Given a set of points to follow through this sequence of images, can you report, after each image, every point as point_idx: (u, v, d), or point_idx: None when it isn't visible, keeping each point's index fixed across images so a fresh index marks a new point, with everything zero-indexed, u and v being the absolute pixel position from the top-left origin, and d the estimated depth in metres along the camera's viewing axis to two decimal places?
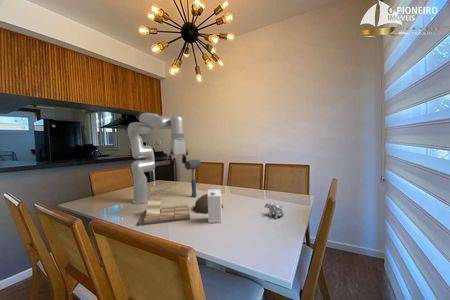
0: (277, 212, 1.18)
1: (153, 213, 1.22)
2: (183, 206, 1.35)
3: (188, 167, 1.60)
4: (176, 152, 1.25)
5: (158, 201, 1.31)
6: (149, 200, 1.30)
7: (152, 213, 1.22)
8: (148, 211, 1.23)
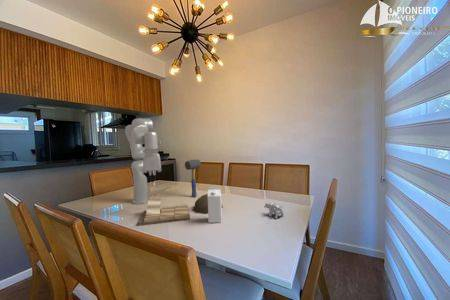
0: (277, 212, 1.18)
1: (153, 213, 1.22)
2: (183, 206, 1.35)
3: (188, 167, 1.60)
4: None
5: (158, 201, 1.31)
6: (149, 200, 1.30)
7: (152, 213, 1.22)
8: (148, 211, 1.23)
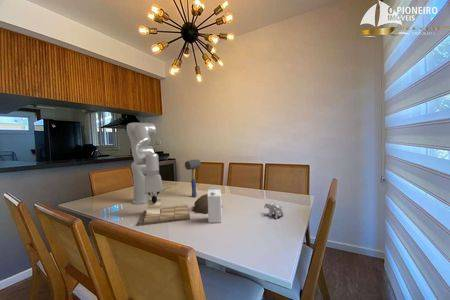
0: (277, 212, 1.18)
1: (153, 213, 1.22)
2: (183, 206, 1.35)
3: (188, 167, 1.60)
4: None
5: (158, 201, 1.31)
6: (149, 201, 1.31)
7: (152, 213, 1.22)
8: (148, 211, 1.23)
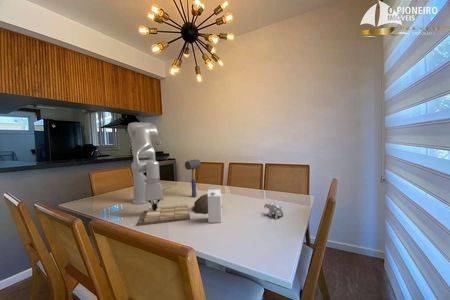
0: (277, 212, 1.18)
1: (153, 214, 1.22)
2: (183, 206, 1.35)
3: (188, 167, 1.60)
4: None
5: (159, 208, 1.32)
6: (150, 208, 1.32)
7: (152, 214, 1.22)
8: (148, 213, 1.24)
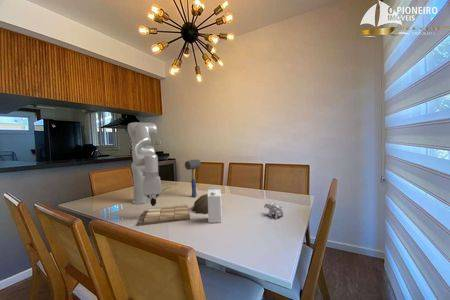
0: (277, 212, 1.18)
1: (153, 214, 1.22)
2: (183, 206, 1.35)
3: (188, 167, 1.60)
4: None
5: (159, 208, 1.32)
6: (150, 208, 1.32)
7: (152, 214, 1.22)
8: (148, 213, 1.24)
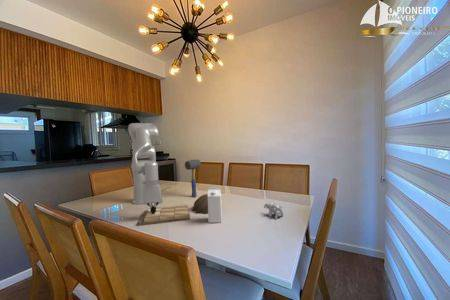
0: (277, 212, 1.17)
1: (153, 214, 1.22)
2: (183, 206, 1.35)
3: (188, 167, 1.60)
4: None
5: (159, 208, 1.32)
6: None
7: (152, 214, 1.22)
8: (148, 213, 1.24)
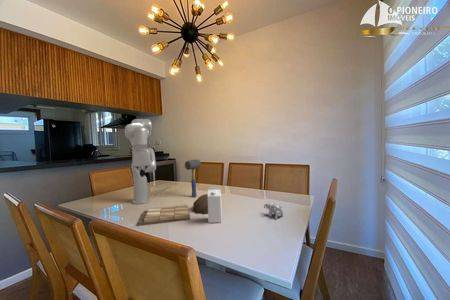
0: (277, 212, 1.17)
1: (153, 214, 1.22)
2: (183, 206, 1.35)
3: (188, 167, 1.60)
4: None
5: (159, 208, 1.32)
6: (150, 208, 1.32)
7: (152, 214, 1.22)
8: (148, 213, 1.24)
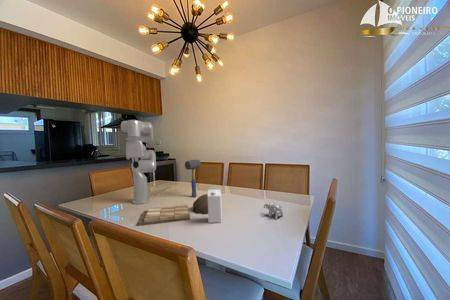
0: (277, 212, 1.17)
1: (153, 214, 1.22)
2: (183, 206, 1.35)
3: (188, 167, 1.60)
4: None
5: (159, 208, 1.32)
6: (150, 208, 1.32)
7: (152, 214, 1.22)
8: (148, 213, 1.24)
